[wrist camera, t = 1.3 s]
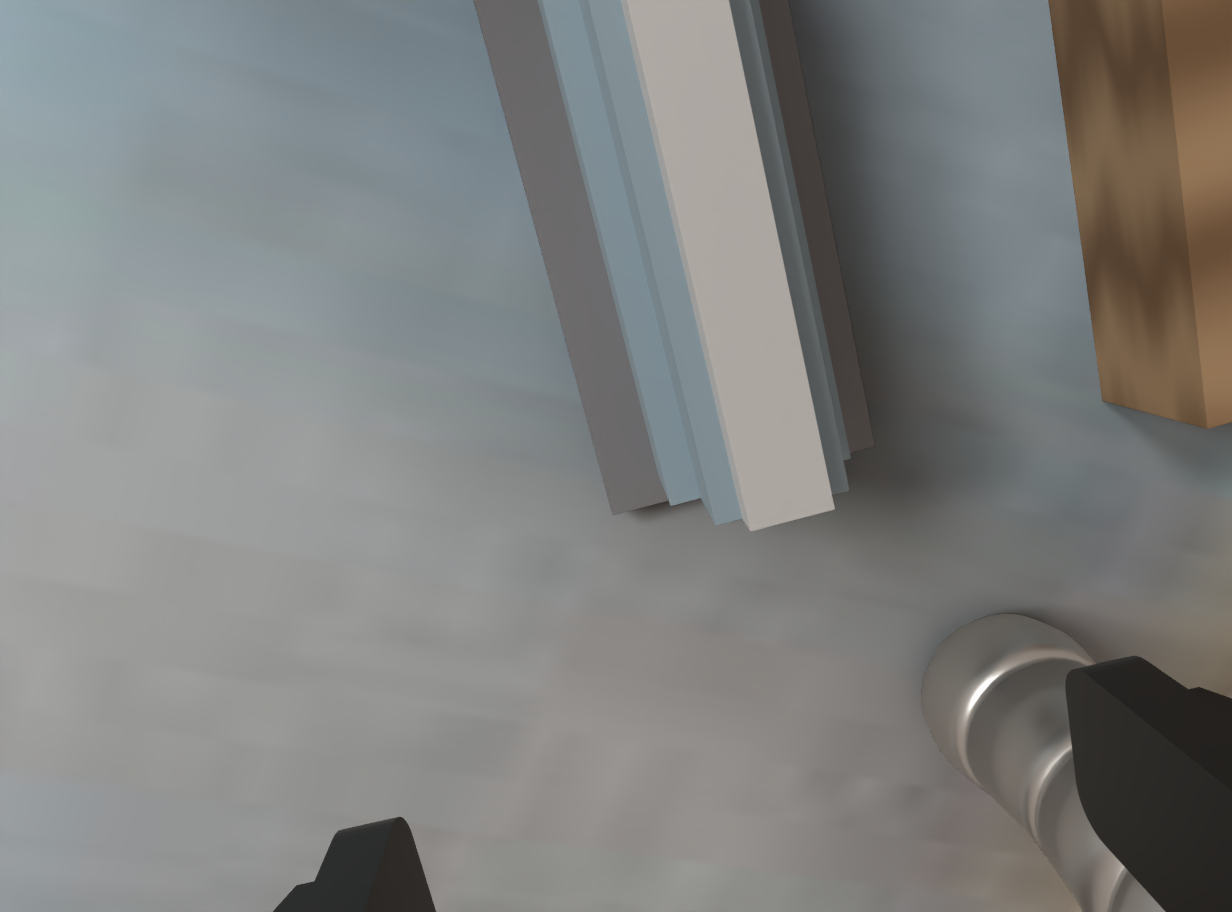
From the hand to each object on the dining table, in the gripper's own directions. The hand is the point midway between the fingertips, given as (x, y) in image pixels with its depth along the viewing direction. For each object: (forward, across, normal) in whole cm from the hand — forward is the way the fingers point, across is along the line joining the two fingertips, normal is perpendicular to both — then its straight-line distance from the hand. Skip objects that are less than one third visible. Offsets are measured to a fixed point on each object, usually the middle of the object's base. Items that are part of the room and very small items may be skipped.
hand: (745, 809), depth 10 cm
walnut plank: (+24, -19, -9) cm, 32 cm away
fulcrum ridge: (+23, -3, -9) cm, 25 cm away
